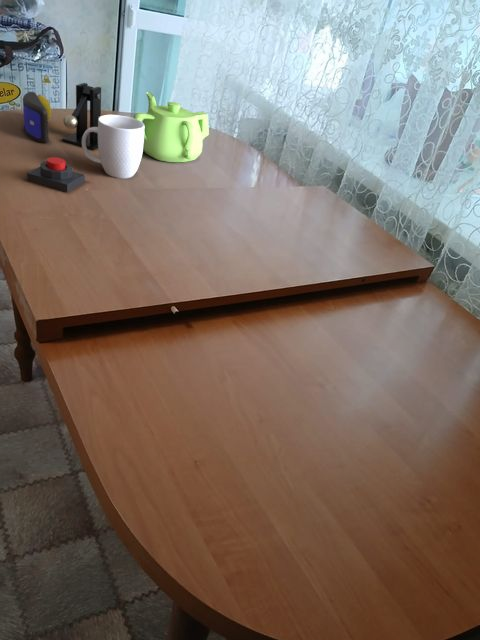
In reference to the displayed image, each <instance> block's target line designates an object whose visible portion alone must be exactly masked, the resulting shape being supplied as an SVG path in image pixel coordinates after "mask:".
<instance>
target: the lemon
mask: <svg viewBox="0 0 480 640" xmlns="http://www.w3.org/2000/svg"><path fill="white" fill-rule="evenodd" d="M37 96H38V98H39V99H40V101H41V102H42V104H43V105H44V107H45V108H46V111H47V121H48V120H49V119H50V117H51V115H52V107H51V104H50V101H49V100H48V99H47V98H46V97H45V96H44V95H42V94H40V93H39V94H37Z"/></svg>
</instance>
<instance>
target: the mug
mask: <svg viewBox="0 0 480 640" xmlns="http://www.w3.org/2000/svg"><path fill="white" fill-rule="evenodd" d="M90 132H95V133H97V134H98V148H97V149H98V156H99V158H98V157H95V156H94V155H92V154H91V153H90V152H89V149H87V147H86V138H87V135H88V134H89V133H90ZM143 143H144V124H143V123H142V122H141V121H139V120H137V119H134V117H131V116H127V115H121V114H105V115H101V116H100V117H99V118H98V127H91V128H90V127H88V128H87V130H86V131H85V133H84V134H83V137H82V147H81V149H82V151H83V154H84V155H85V156H86V158H87V159H89V160H90V161H91V162H94V163H97V164H99V165H101V166H102V169H103V170H104V172H105V173H106V175H108V176H110V177H113V178H117V179H129V178H132V177H134V176H135V174H136V172H137V171H138V169H139V167H140V164H141V161H142V158H143V152H144V151H143Z"/></svg>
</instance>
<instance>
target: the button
mask: <svg viewBox="0 0 480 640" xmlns="http://www.w3.org/2000/svg"><path fill="white" fill-rule="evenodd" d="M46 161H47V168H49V169H52V170H64V169H66V168H65V163H66V160H65V159H63V158H60V157H48V158H47V159H46Z"/></svg>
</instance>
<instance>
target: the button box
mask: <svg viewBox="0 0 480 640" xmlns="http://www.w3.org/2000/svg"><path fill="white" fill-rule="evenodd" d="M65 168H66V169H64V170H52V169H49V168H47V160H45V161H42V162H40V164H39V166H38V167H36V168H34V169H32V170H30V171H28V172H26V180H27V182H30V183H33V184H37V185H40V186H43V187H48V188H51V189H55V190H57V191H60V192H64V193H70V192H71V191H73V190H74V189H76V188H77V187H79V186H81V185H83V184H85V182H86V175H85V174H83V173H80V172H78V171H73V166H72V165H71V164H69V163H68V162H65Z"/></svg>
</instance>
